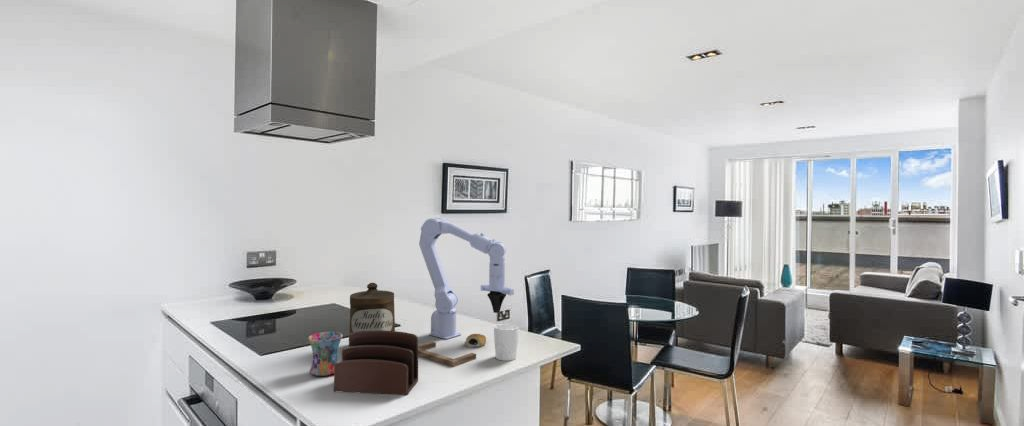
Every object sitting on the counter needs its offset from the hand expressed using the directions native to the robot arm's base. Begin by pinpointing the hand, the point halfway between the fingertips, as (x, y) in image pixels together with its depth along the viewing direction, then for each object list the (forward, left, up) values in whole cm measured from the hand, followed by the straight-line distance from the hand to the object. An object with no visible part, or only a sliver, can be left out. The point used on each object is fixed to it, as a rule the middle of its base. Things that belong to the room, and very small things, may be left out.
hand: (496, 312), depth 173 cm
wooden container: (-25, -36, -10) cm, 45 cm away
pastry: (-1, -10, -10) cm, 14 cm away
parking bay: (0, -27, -9) cm, 29 cm away
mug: (-15, -58, -10) cm, 61 cm away
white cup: (+17, -15, -10) cm, 25 cm away
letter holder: (+6, -56, -10) cm, 57 cm away
